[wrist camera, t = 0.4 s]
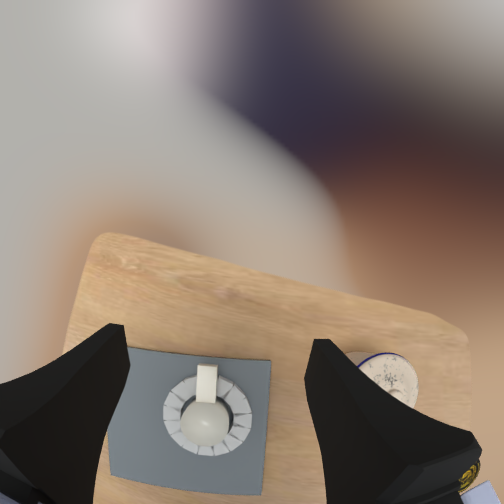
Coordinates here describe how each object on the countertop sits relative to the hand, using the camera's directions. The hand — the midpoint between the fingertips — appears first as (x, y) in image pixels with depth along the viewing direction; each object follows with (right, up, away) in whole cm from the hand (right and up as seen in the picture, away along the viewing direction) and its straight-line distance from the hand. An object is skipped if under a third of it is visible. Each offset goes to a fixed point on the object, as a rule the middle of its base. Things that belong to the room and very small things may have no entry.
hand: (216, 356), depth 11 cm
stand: (-7, -18, +21) cm, 28 cm away
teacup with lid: (+15, -14, +23) cm, 31 cm away
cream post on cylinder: (-4, -13, +21) cm, 25 cm away
